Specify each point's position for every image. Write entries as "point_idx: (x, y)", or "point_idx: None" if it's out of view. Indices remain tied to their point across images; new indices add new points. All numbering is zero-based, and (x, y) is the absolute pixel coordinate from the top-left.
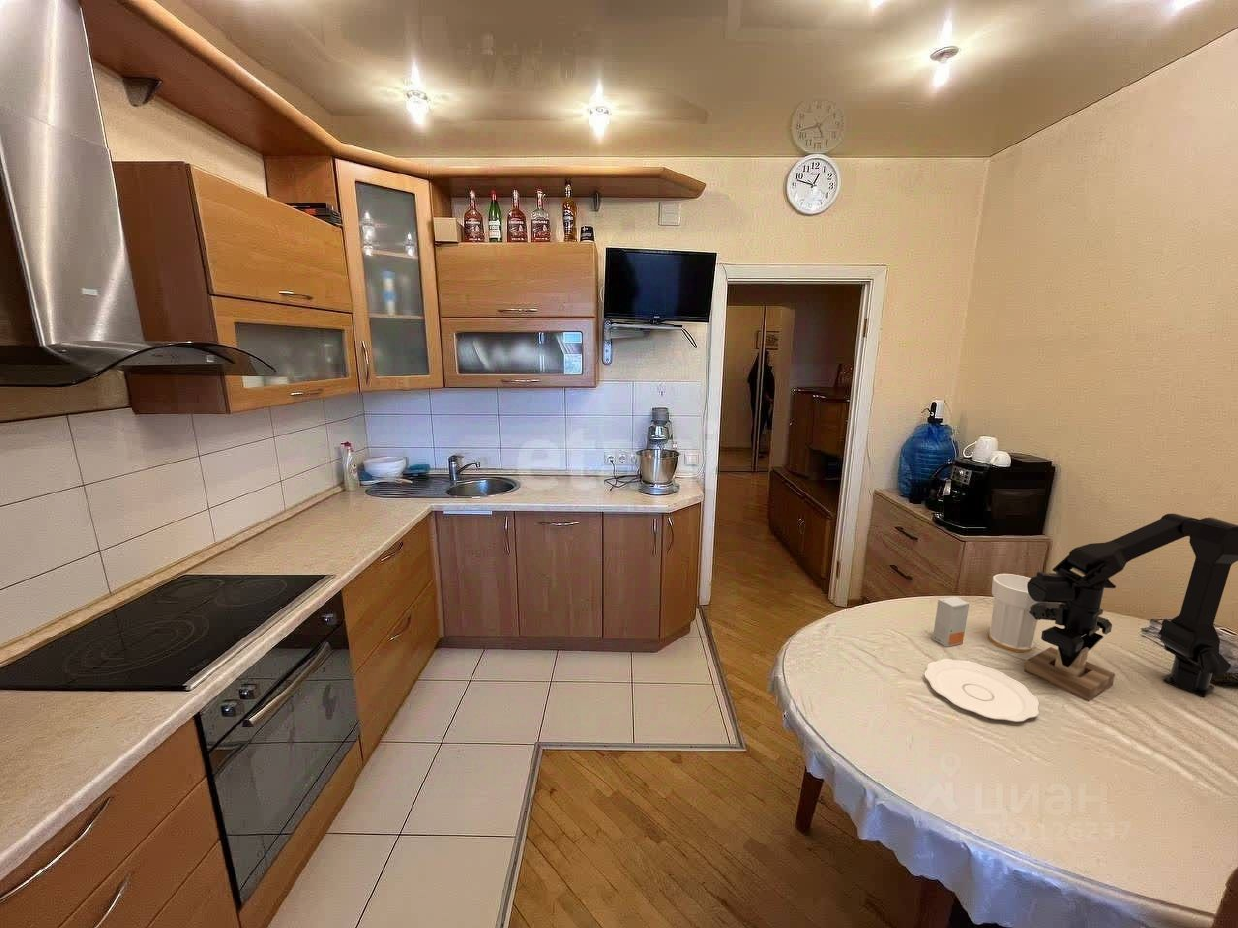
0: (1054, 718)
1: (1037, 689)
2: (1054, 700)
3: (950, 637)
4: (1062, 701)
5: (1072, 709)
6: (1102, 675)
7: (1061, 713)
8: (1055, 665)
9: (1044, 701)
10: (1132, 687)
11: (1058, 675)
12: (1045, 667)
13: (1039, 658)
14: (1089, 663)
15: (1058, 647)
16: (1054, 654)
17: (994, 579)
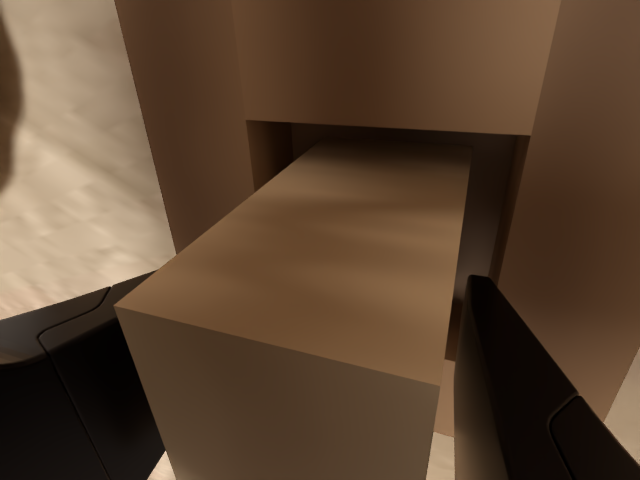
0: (21, 249)
1: (102, 138)
2: (108, 219)
3: None
4: (135, 243)
5: (126, 279)
6: (451, 411)
7: (66, 258)
8: (293, 166)
9: (61, 195)
10: (637, 457)
11: (175, 223)
12: (167, 136)
13: (261, 27)
14: (616, 350)
15: (7, 320)
16: (533, 76)
17: None
